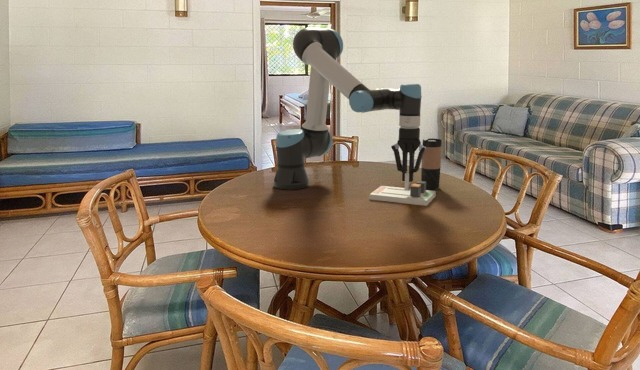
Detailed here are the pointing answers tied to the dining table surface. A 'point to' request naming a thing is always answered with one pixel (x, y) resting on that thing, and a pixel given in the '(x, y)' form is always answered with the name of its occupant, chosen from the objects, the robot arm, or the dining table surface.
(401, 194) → the board
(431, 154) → the travel mug
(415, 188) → the breaker handle
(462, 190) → the dining table surface
